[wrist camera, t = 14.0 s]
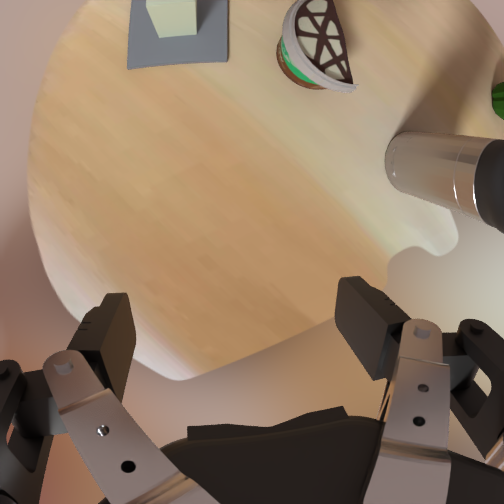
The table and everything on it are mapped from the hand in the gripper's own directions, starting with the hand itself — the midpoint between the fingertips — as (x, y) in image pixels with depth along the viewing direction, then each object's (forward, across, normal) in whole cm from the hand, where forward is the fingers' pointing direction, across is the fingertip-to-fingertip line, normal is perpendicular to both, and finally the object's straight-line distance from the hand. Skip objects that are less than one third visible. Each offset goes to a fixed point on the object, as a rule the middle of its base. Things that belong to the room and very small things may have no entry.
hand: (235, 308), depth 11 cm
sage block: (+28, +4, -22) cm, 35 cm away
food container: (+28, -10, -17) cm, 34 cm away
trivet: (+28, +4, -22) cm, 36 cm away
